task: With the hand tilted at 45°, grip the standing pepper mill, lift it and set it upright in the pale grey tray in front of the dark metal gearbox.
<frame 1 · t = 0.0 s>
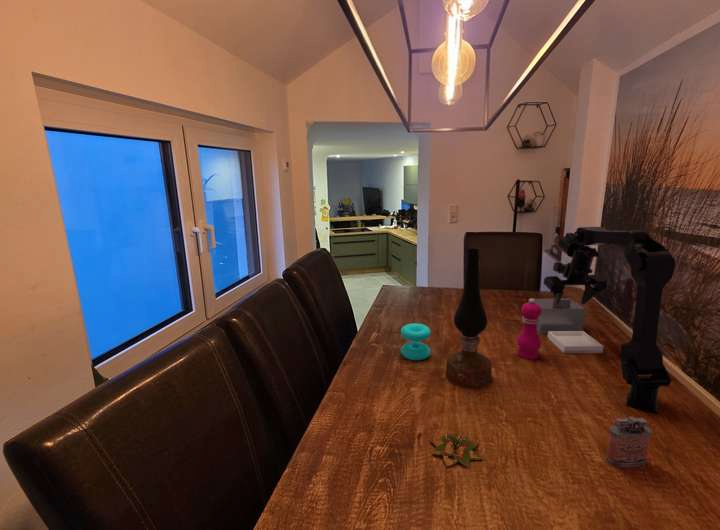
hand: (569, 304, 126), 15 cm above the table, tool pointing down, fingers open, 9 cm apart
tray: (573, 345, 130), on the table
green leafy cluster: (455, 452, 82), on the table
turquoise spool: (415, 355, 127), on the table
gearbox: (553, 327, 146), on the table
pepper mill: (527, 355, 124), on the table
oil lamp: (468, 376, 113), on the table
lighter: (625, 461, 78), on the table
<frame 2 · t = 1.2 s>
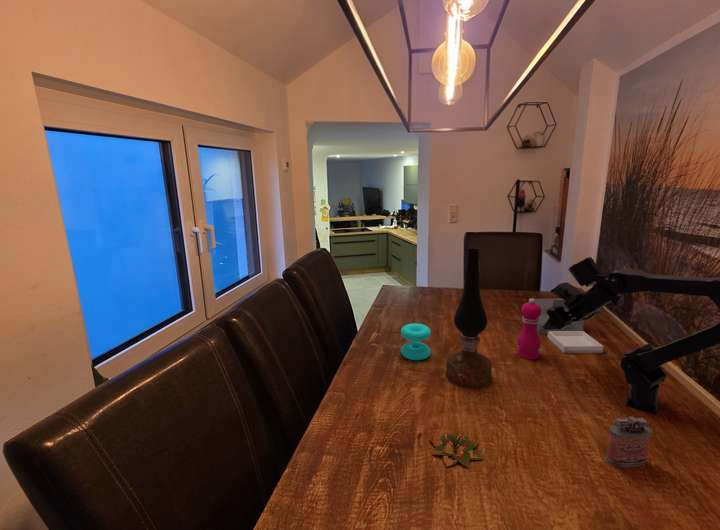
hand: (553, 325, 115), 13 cm above the table, tool tilted 45°, fingers open, 9 cm apart
nothing on the table moved.
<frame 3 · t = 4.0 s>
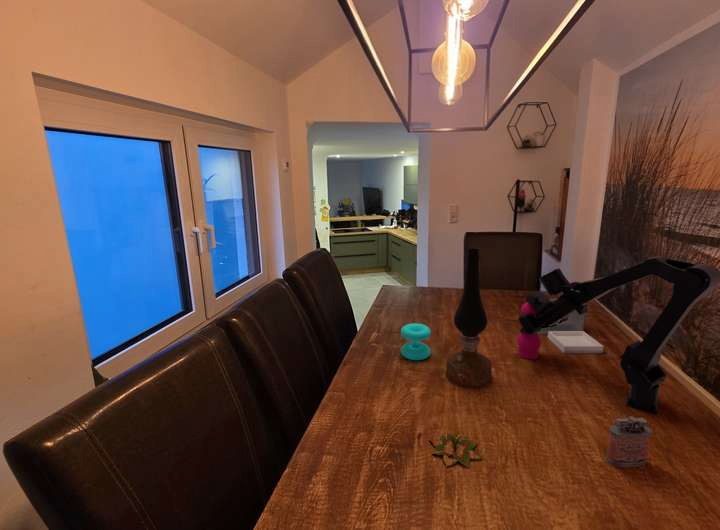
hand: (525, 330, 123), 9 cm above the table, tool tilted 45°, fingers closed on pepper mill, 5 cm apart
pepper mill: (527, 355, 124), on the table, touching gripper
everything else where it was.
when the fingers open (11 cm above the table, at t = 7.8 s): pepper mill stays where it is, resting on tray.
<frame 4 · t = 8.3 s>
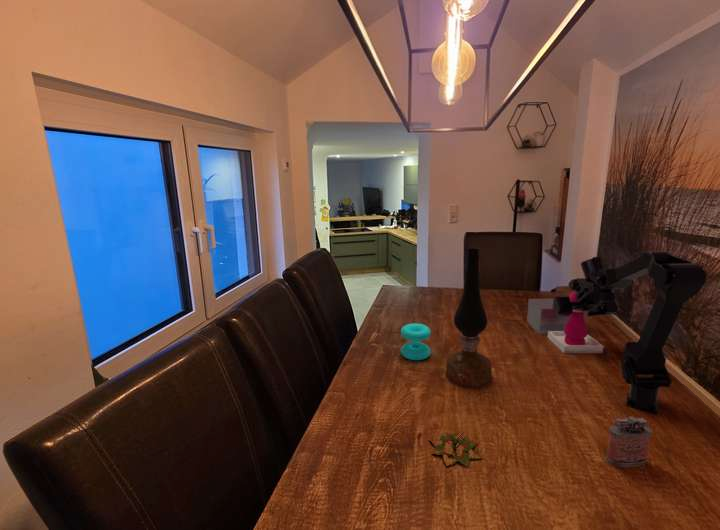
hand: (574, 315, 129), 11 cm above the table, tool tilted 45°, fingers open, 9 cm apart
pepper mill: (574, 343, 130), point 1 cm above the table, touching gripper, tray
everything else where it was.
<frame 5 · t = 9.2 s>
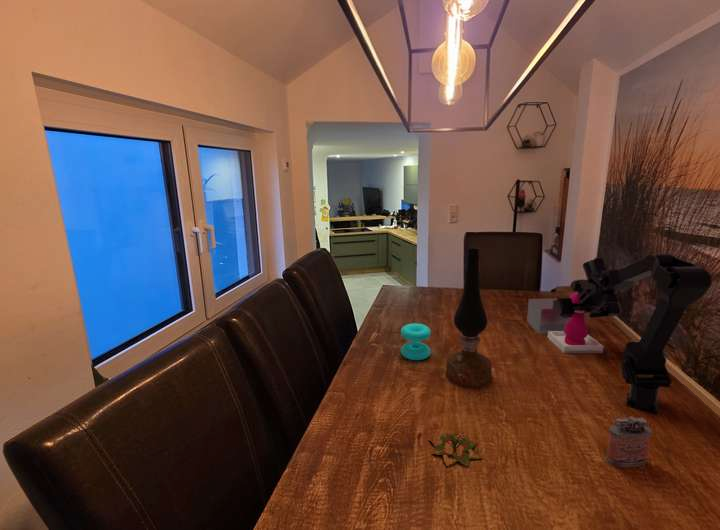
hand: (576, 316, 128), 11 cm above the table, tool tilted 45°, fingers open, 9 cm apart
pepper mill: (574, 343, 130), point 1 cm above the table, touching tray
everything else where it was.
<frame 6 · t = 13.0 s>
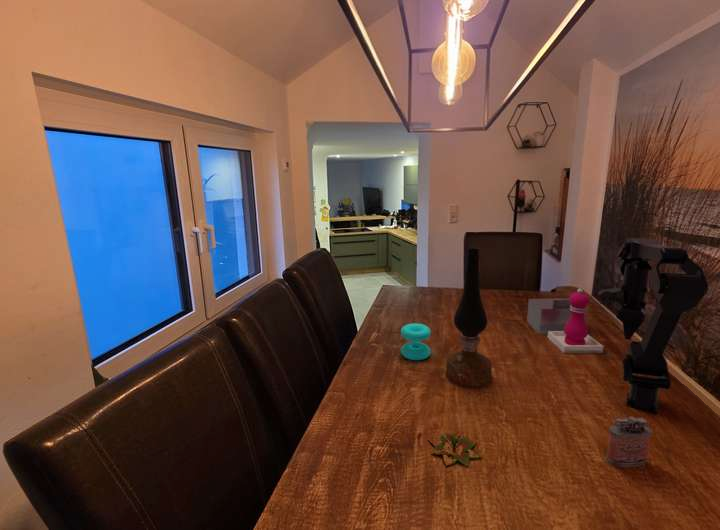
hand: (628, 333, 108), 13 cm above the table, tool pointing down, fingers open, 9 cm apart
nothing on the table moved.
at the end: pepper mill inside the target area on the tray (0.6 cm from its centre), point 0.8 cm above the tray's base; pepper mill tilted 0°; the gripper is holding nothing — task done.
